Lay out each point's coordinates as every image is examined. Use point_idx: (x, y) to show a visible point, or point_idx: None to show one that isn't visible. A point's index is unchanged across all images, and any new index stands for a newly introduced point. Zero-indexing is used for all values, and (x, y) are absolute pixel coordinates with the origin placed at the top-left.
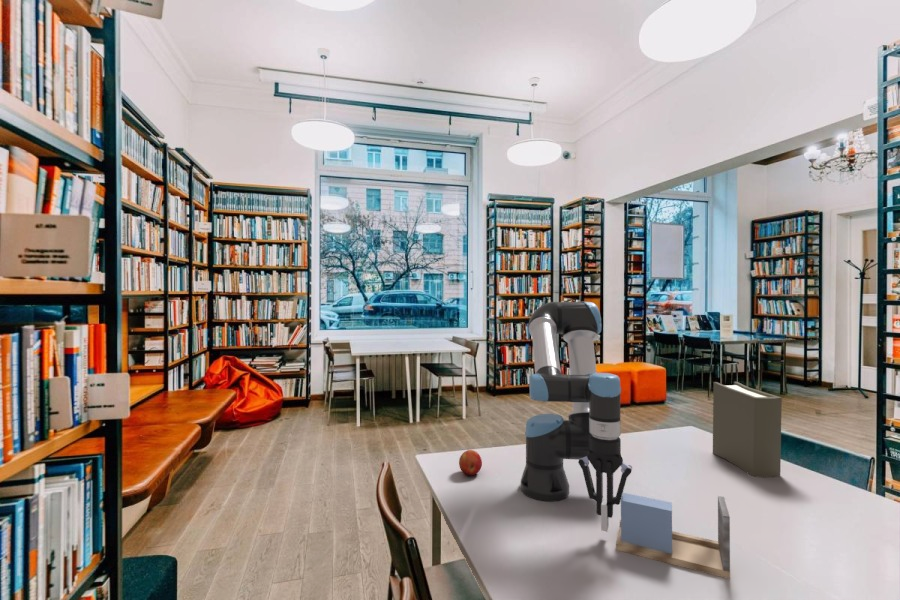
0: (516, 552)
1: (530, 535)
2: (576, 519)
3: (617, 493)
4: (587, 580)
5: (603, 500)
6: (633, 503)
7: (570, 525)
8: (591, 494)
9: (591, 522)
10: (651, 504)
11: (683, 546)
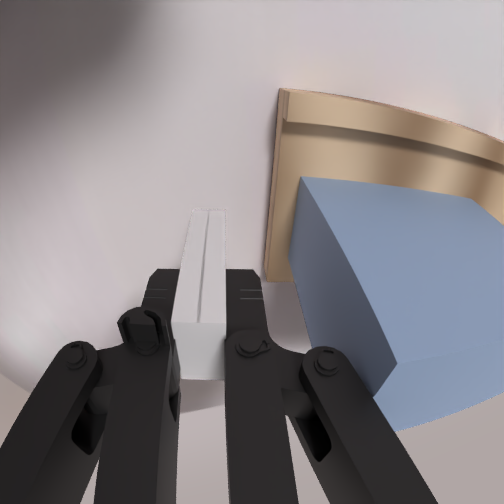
0: (36, 358)
1: (6, 295)
2: (56, 106)
3: (322, 475)
4: (203, 389)
5: (181, 330)
6: (409, 424)
7: (52, 175)
8: (101, 422)
9: (124, 90)
10: (497, 385)
11: (493, 201)
